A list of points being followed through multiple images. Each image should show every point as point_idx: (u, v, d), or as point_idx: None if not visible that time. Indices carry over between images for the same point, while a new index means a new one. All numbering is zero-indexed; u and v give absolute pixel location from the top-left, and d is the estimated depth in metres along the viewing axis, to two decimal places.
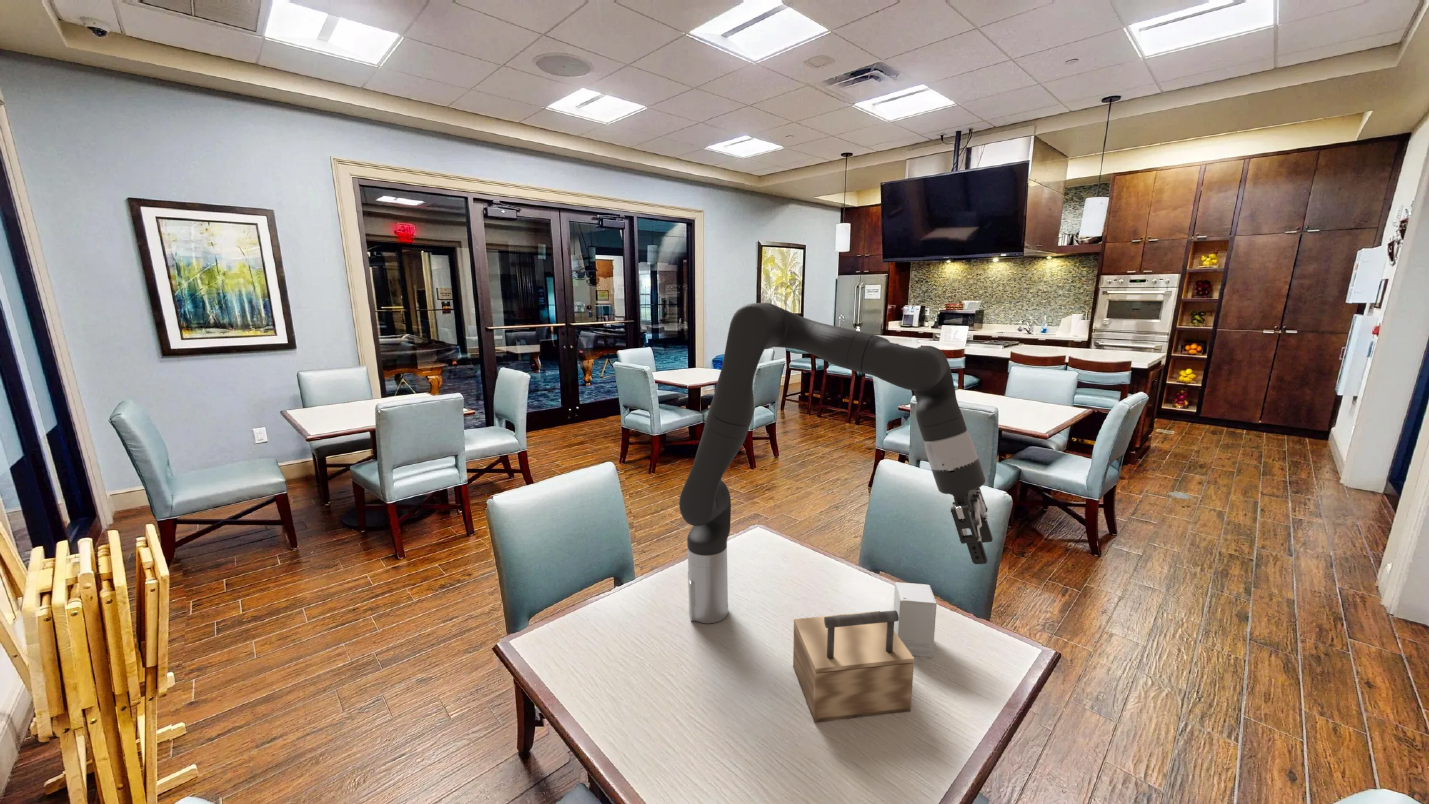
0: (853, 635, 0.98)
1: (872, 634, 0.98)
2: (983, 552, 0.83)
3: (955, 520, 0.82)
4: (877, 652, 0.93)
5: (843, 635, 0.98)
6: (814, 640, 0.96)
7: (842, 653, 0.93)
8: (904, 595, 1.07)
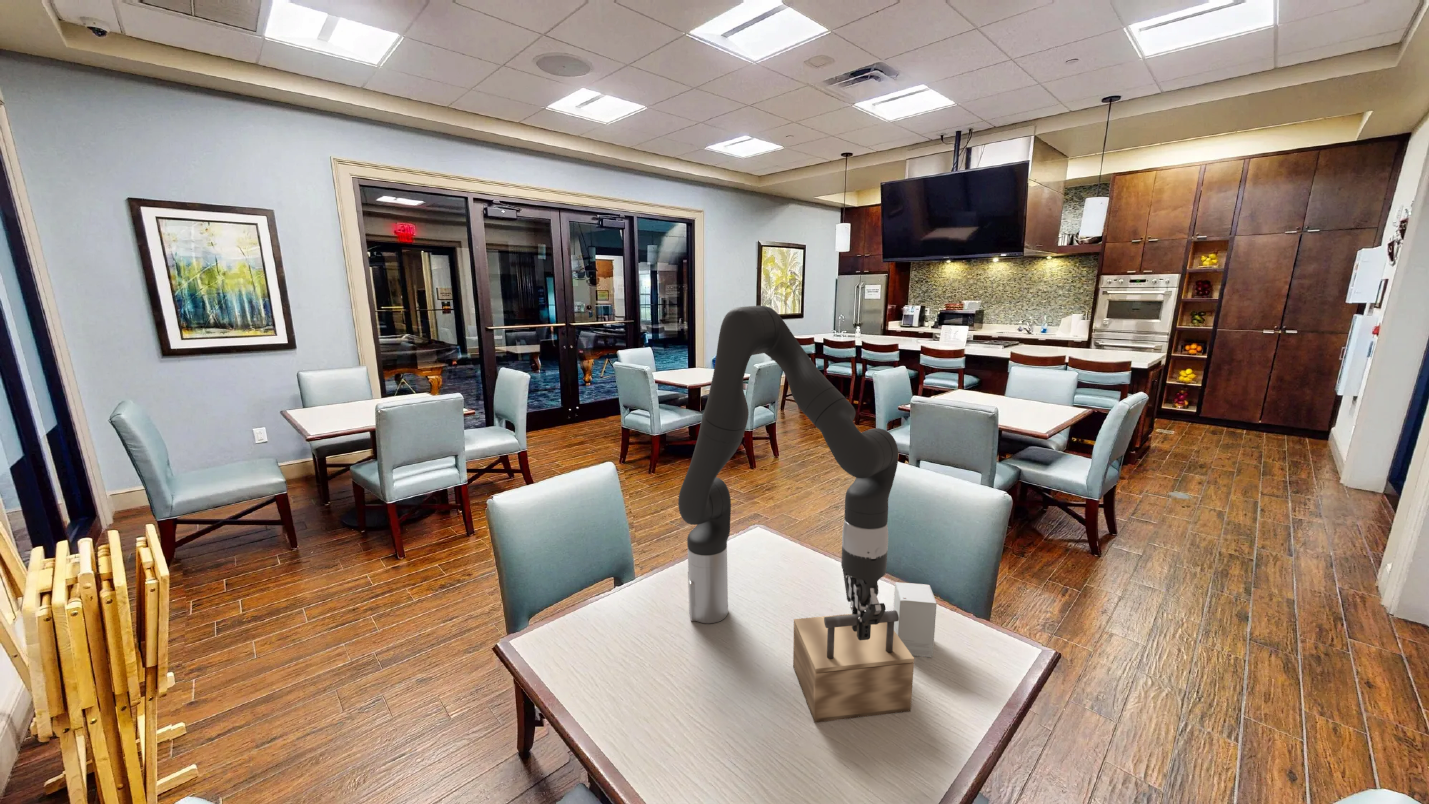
0: (853, 635, 0.98)
1: (872, 634, 0.98)
2: (869, 629, 0.90)
3: (870, 615, 0.85)
4: (877, 652, 0.93)
5: (843, 635, 0.98)
6: (814, 640, 0.96)
7: (842, 653, 0.93)
8: (904, 595, 1.07)
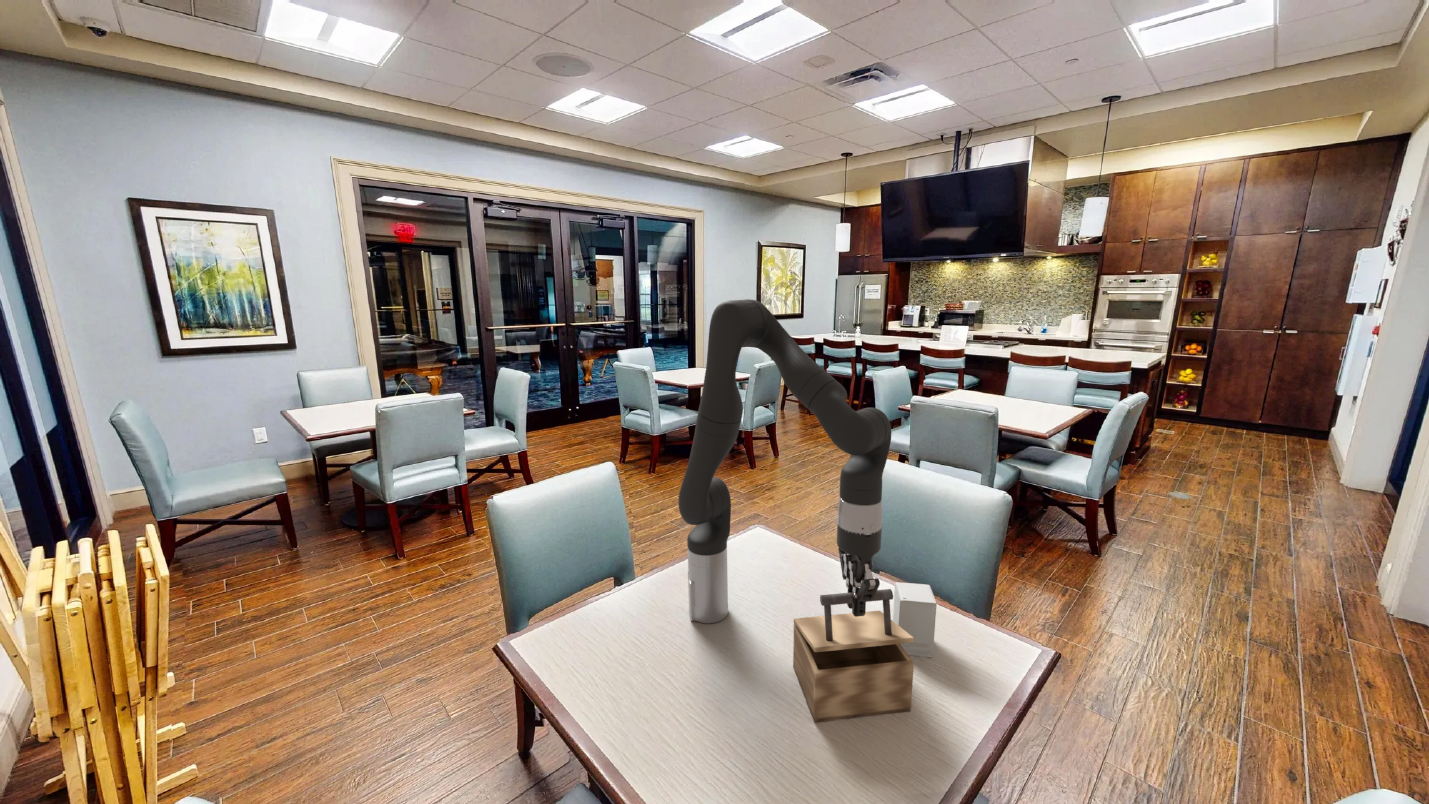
0: (852, 626, 0.98)
1: (871, 624, 0.98)
2: None
3: (864, 590, 0.86)
4: (876, 635, 0.93)
5: (842, 626, 0.98)
6: (813, 630, 0.97)
7: (841, 637, 0.93)
8: (904, 595, 1.07)
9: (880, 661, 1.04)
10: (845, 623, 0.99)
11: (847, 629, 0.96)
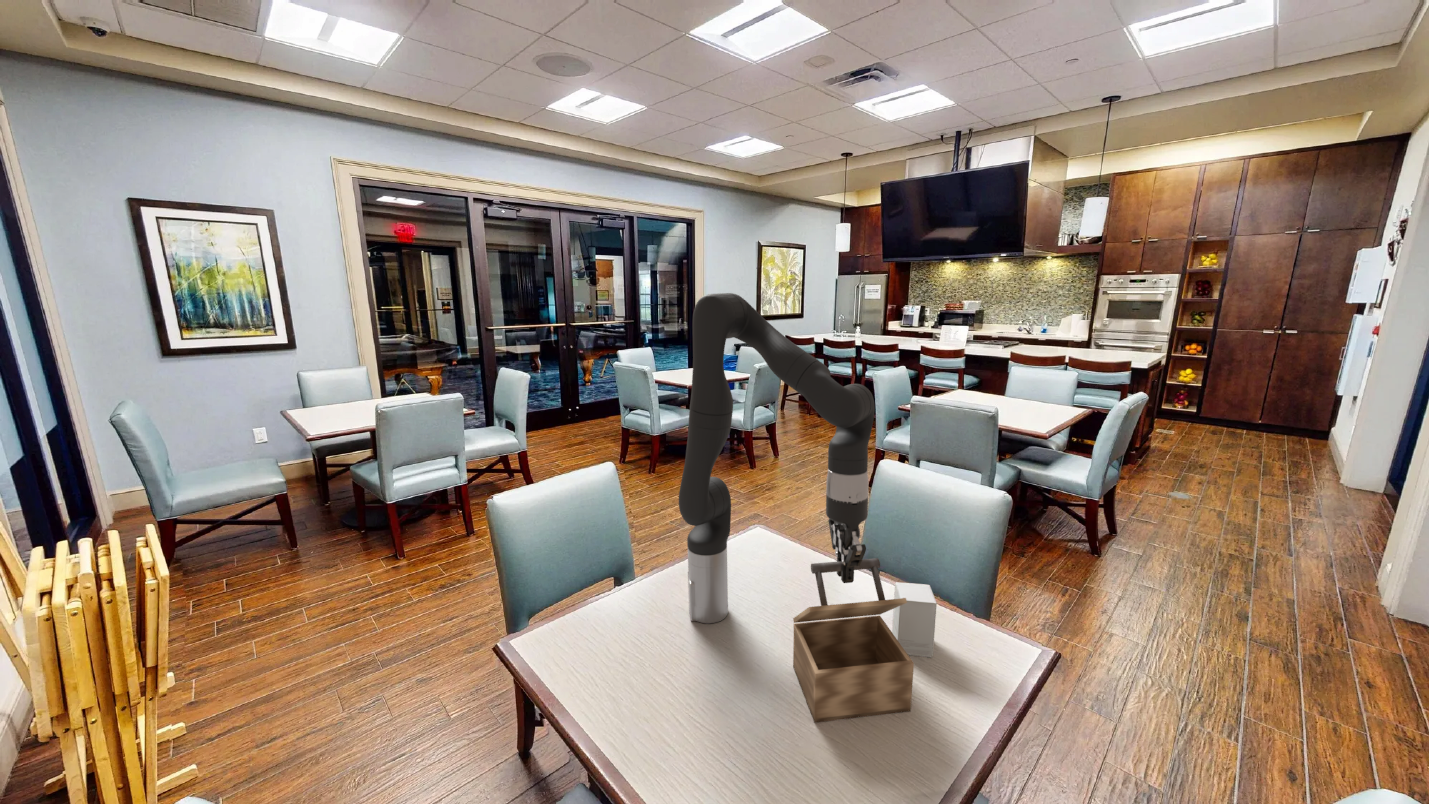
0: None
1: None
2: (853, 573, 0.97)
3: (852, 556, 0.91)
4: None
5: None
6: None
7: None
8: (904, 595, 1.07)
9: (880, 661, 1.04)
10: None
11: None
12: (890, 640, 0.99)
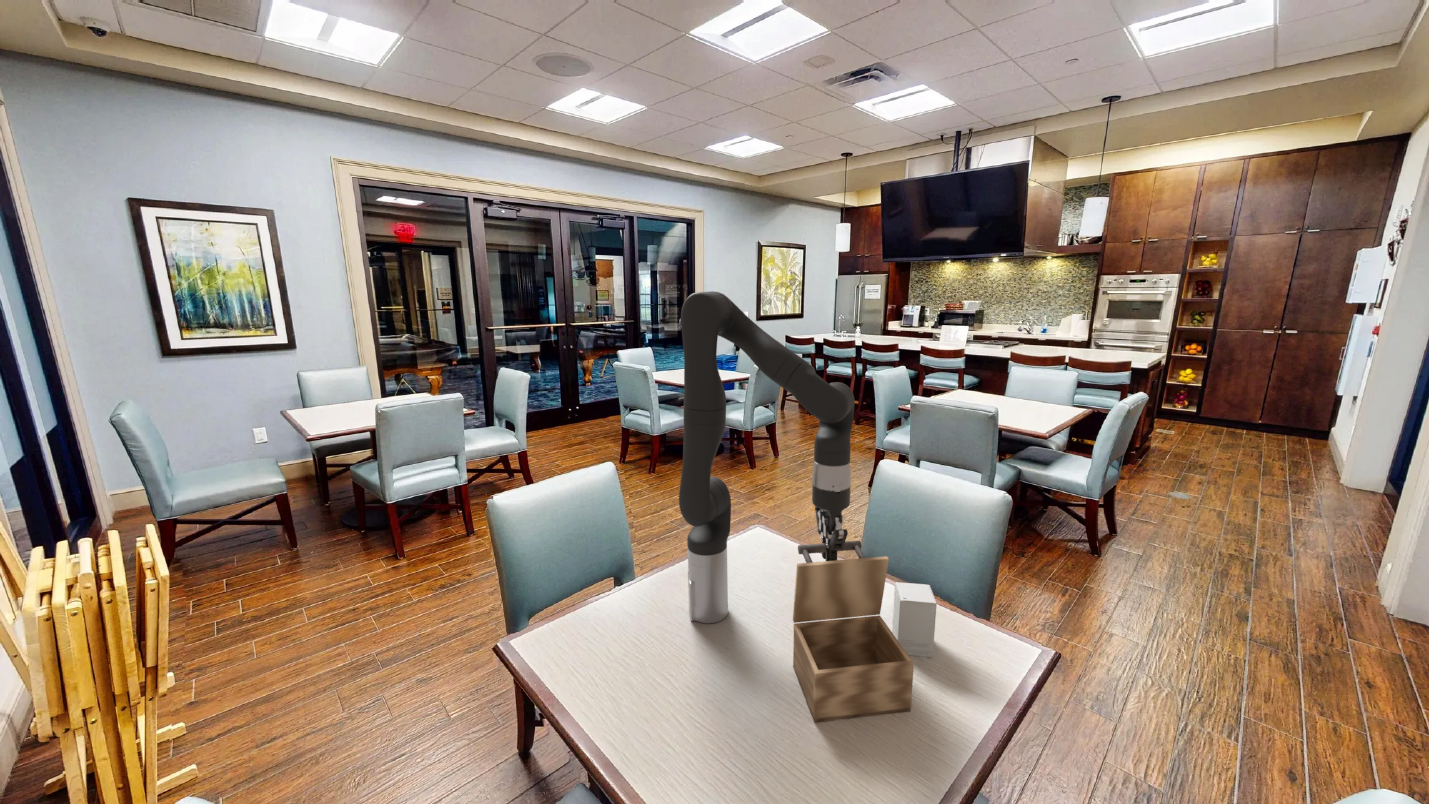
0: None
1: None
2: (836, 556, 1.06)
3: (835, 539, 1.00)
4: None
5: None
6: None
7: None
8: (904, 595, 1.07)
9: (880, 661, 1.04)
10: None
11: None
12: (890, 640, 0.99)
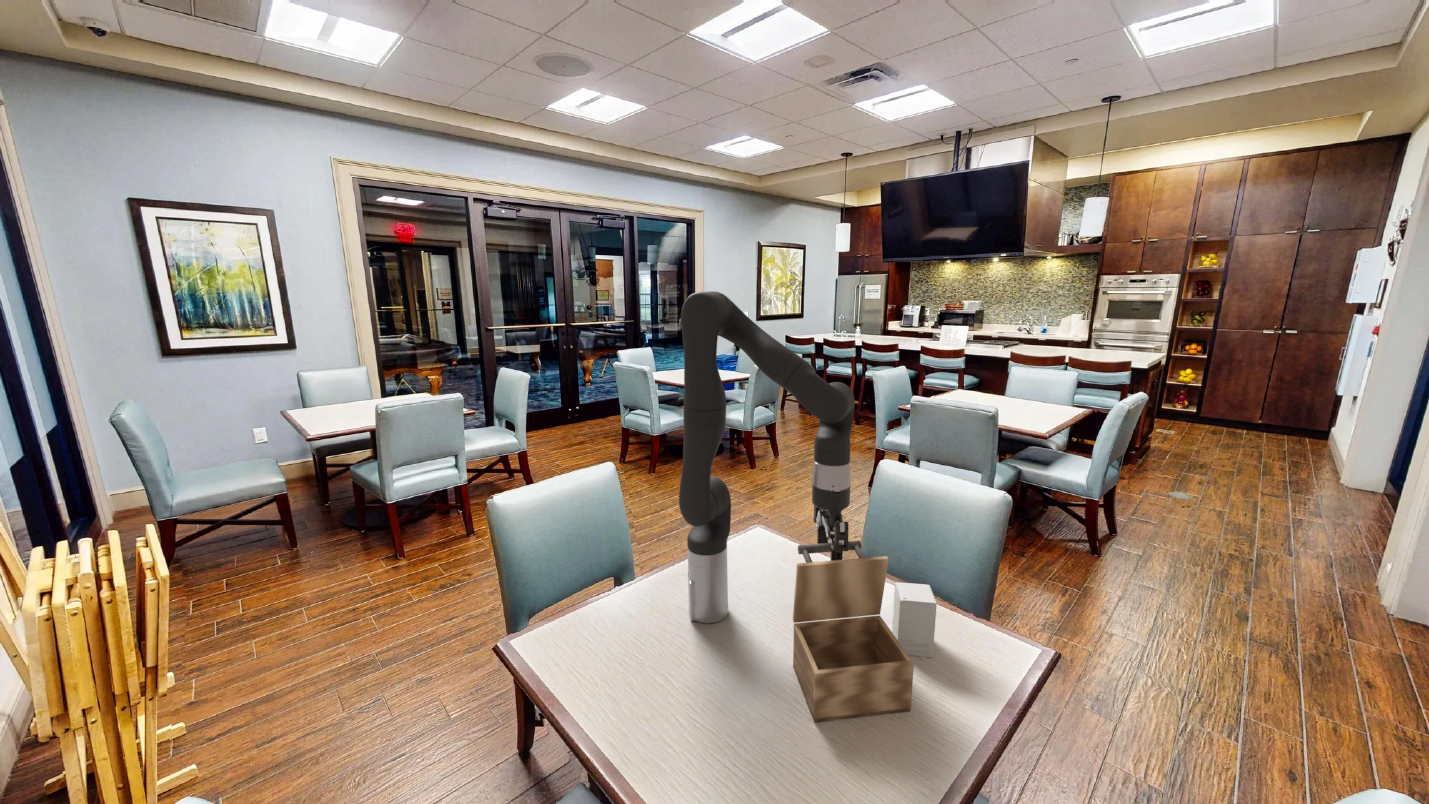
0: None
1: None
2: (841, 558, 1.03)
3: (837, 533, 0.99)
4: None
5: None
6: None
7: None
8: (904, 595, 1.07)
9: (880, 661, 1.04)
10: None
11: None
12: (890, 640, 0.99)
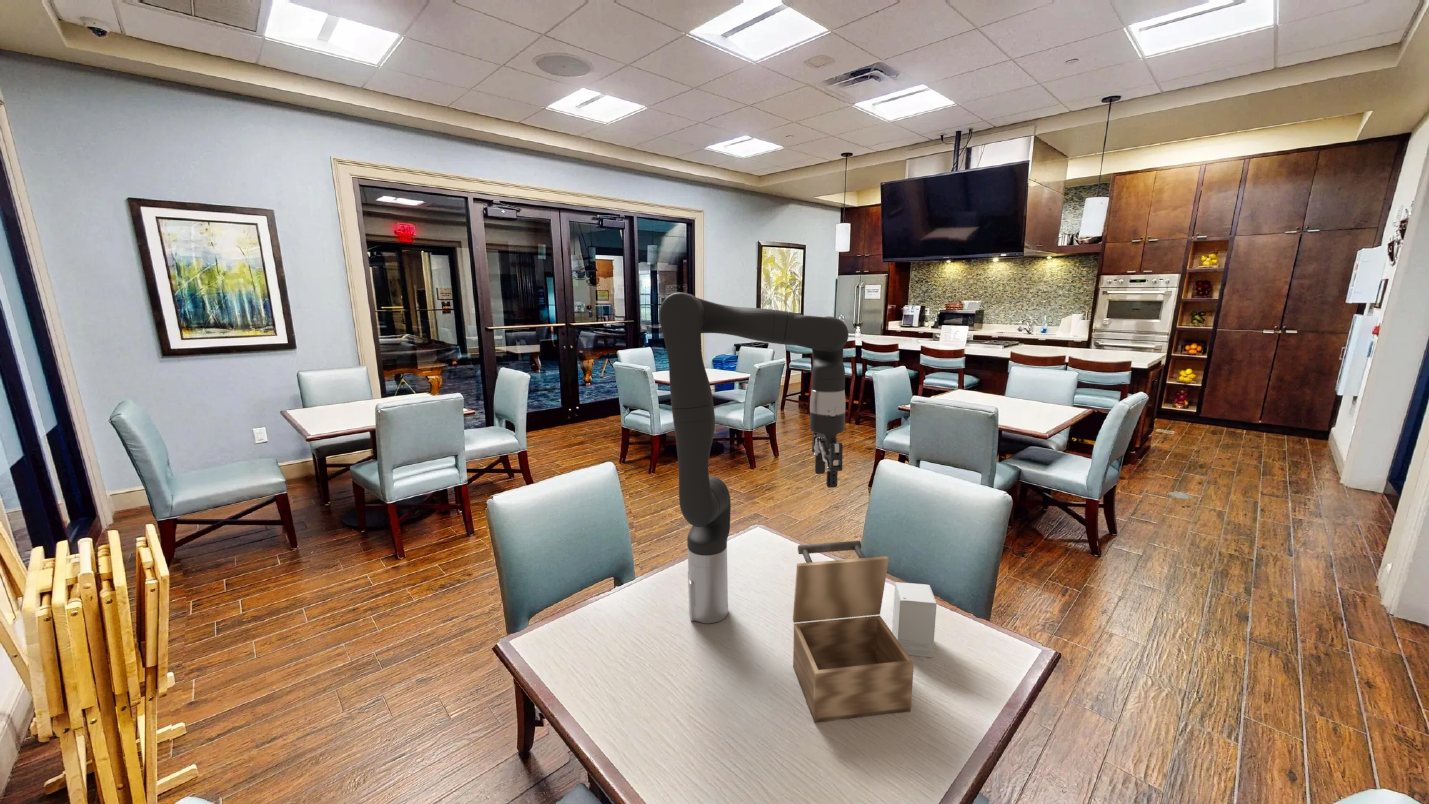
0: None
1: None
2: (836, 479, 1.11)
3: (832, 453, 1.07)
4: None
5: None
6: None
7: None
8: (904, 595, 1.07)
9: (880, 661, 1.04)
10: None
11: None
12: (890, 640, 0.99)
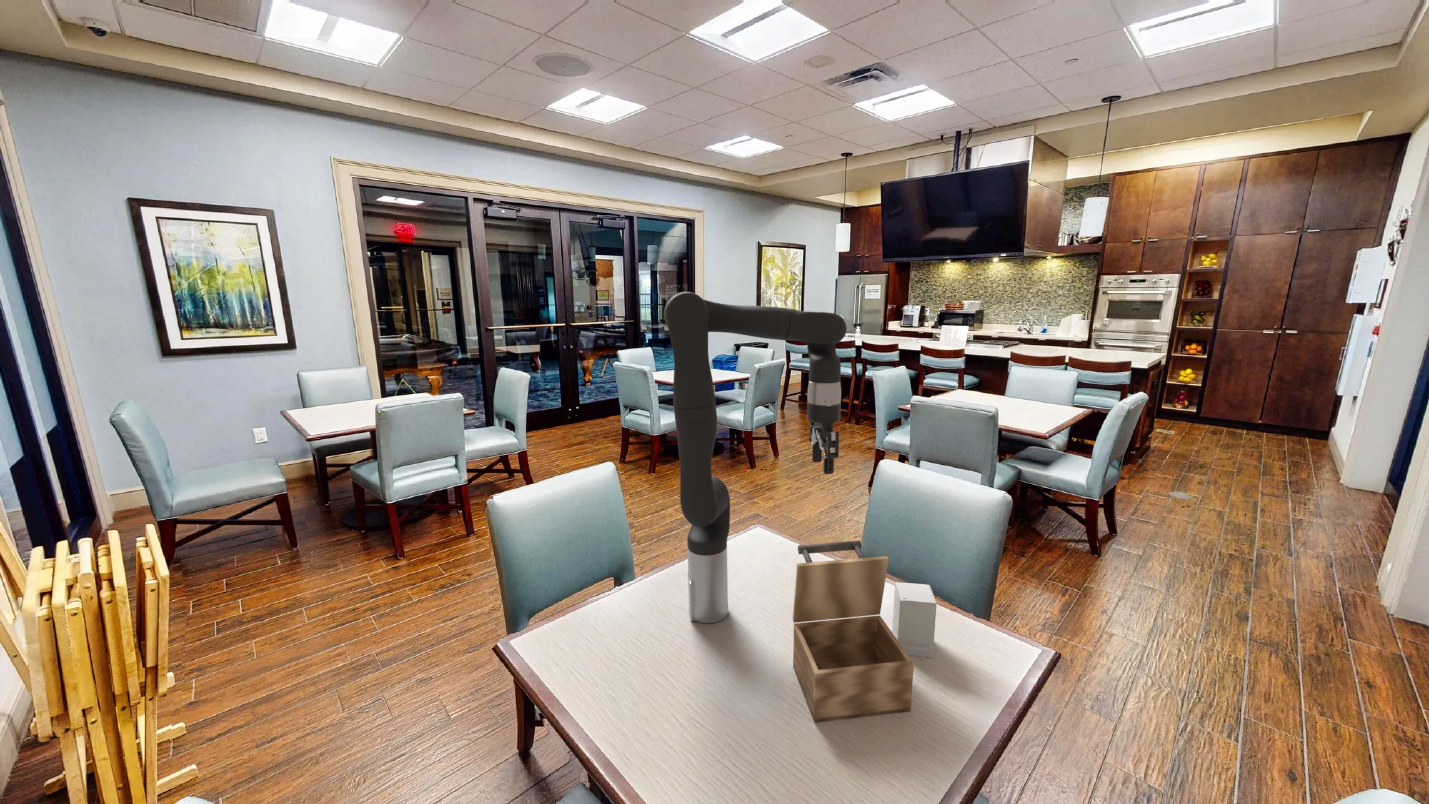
0: None
1: None
2: (833, 466, 1.17)
3: (829, 441, 1.13)
4: None
5: None
6: None
7: None
8: (904, 595, 1.07)
9: (880, 661, 1.04)
10: None
11: None
12: (890, 640, 0.99)
